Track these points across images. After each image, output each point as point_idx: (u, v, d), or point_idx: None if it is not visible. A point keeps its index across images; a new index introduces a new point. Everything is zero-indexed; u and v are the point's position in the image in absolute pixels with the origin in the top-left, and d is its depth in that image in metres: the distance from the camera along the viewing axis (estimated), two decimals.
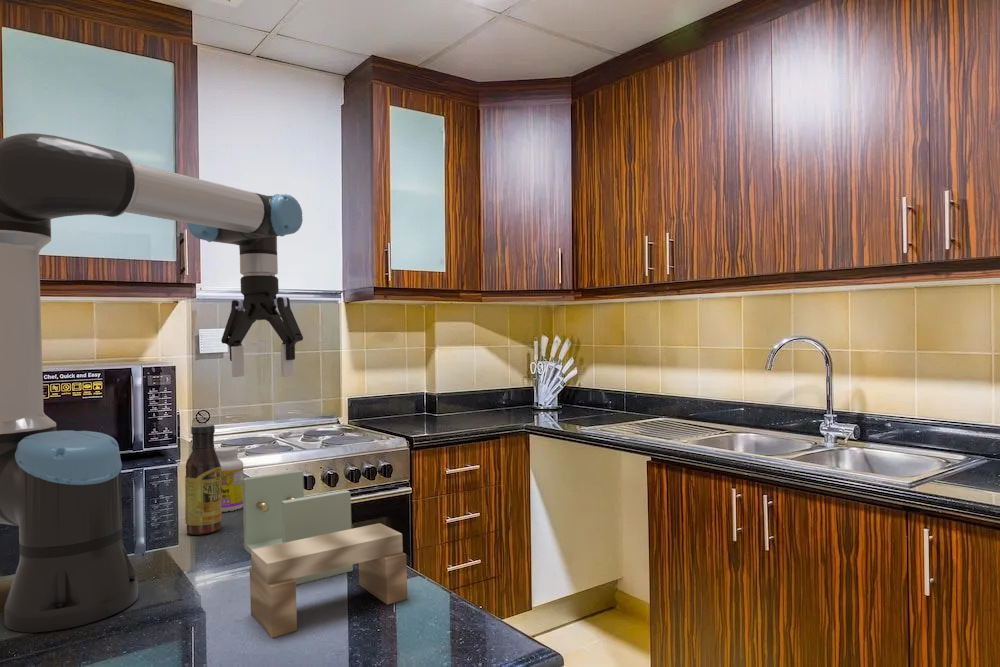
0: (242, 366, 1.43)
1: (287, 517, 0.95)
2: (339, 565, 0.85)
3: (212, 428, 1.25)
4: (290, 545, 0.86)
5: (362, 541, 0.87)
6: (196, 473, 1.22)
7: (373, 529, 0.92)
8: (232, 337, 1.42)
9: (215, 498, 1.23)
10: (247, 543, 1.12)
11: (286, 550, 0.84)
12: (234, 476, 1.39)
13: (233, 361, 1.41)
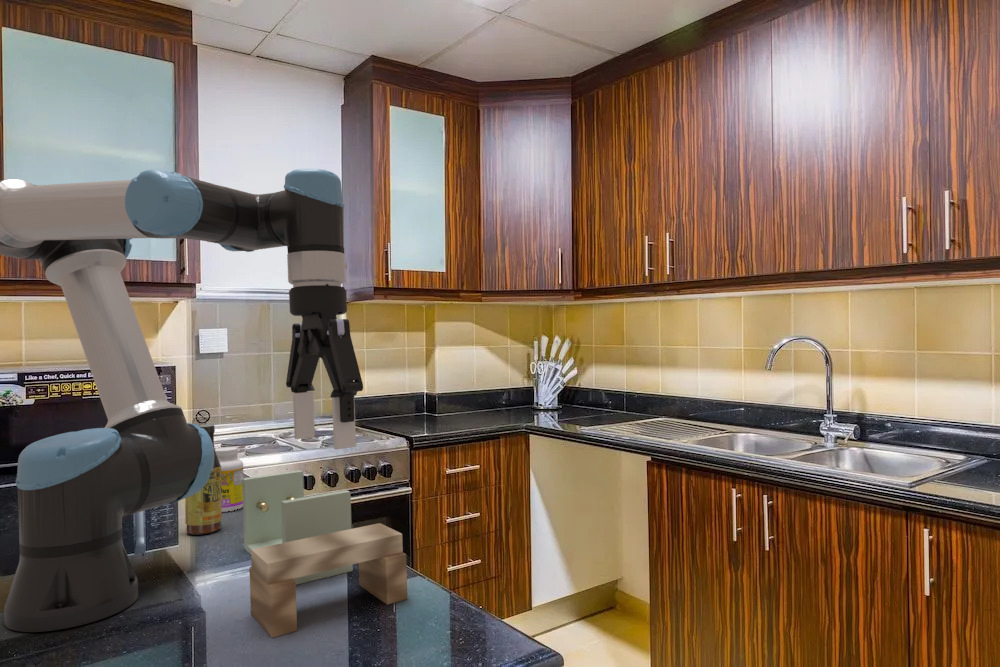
0: (311, 422, 0.95)
1: (287, 517, 0.95)
2: (339, 565, 0.85)
3: (212, 428, 1.25)
4: (290, 545, 0.86)
5: (362, 541, 0.87)
6: None
7: (373, 529, 0.92)
8: (293, 380, 0.95)
9: (215, 498, 1.23)
10: (247, 543, 1.12)
11: (286, 550, 0.84)
12: (234, 476, 1.39)
13: (295, 415, 0.94)
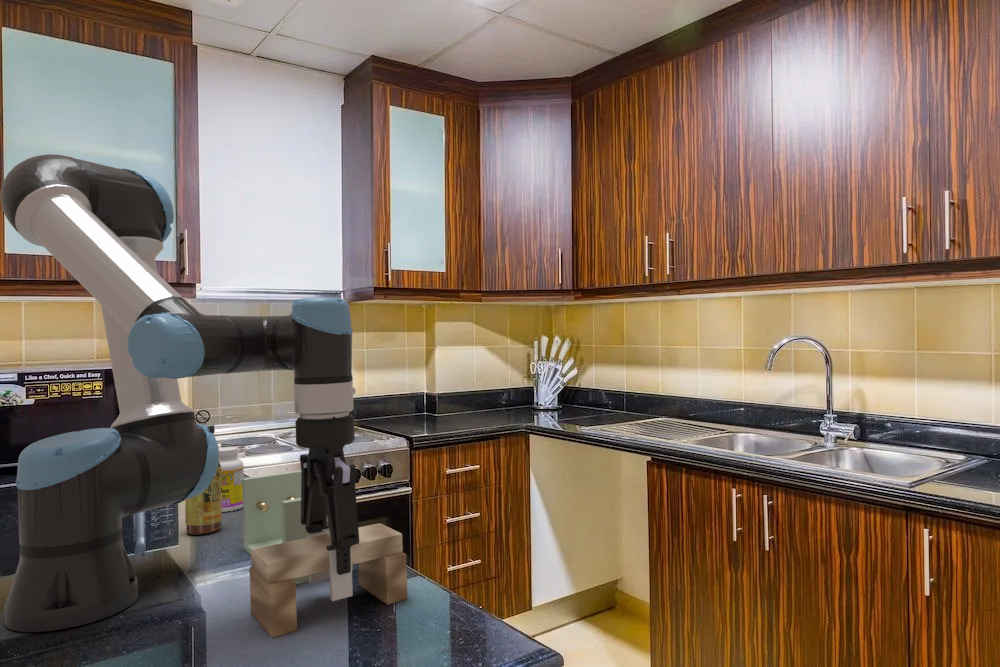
0: None
1: (287, 517, 0.95)
2: None
3: (212, 428, 1.25)
4: (290, 545, 0.86)
5: (362, 541, 0.87)
6: None
7: (373, 529, 0.92)
8: (307, 518, 0.90)
9: (215, 498, 1.23)
10: (247, 543, 1.12)
11: (286, 550, 0.84)
12: (234, 476, 1.39)
13: None
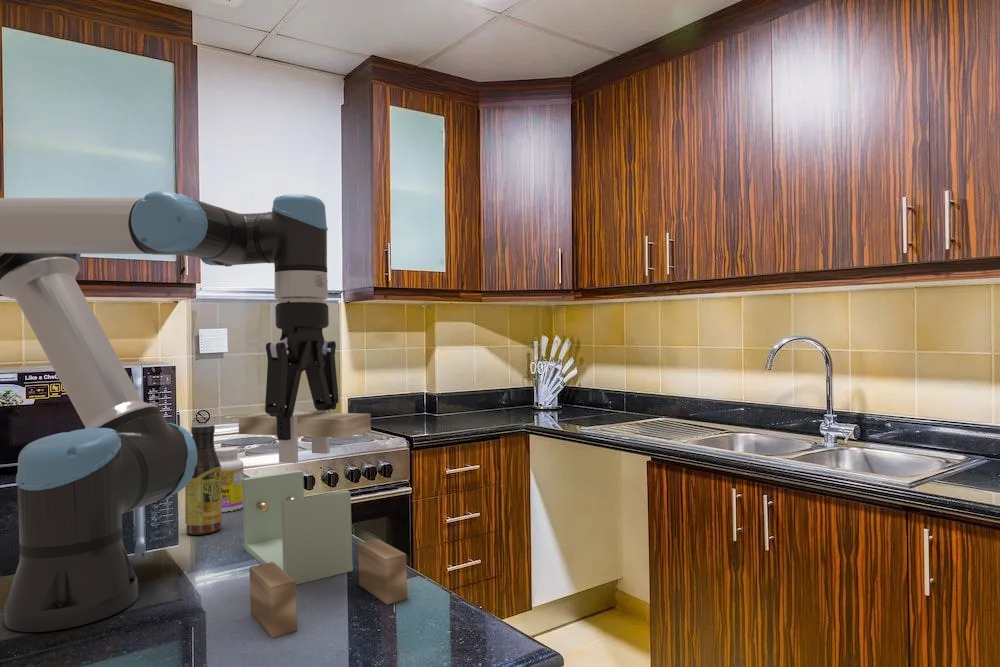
0: (324, 439, 1.01)
1: (287, 517, 0.95)
2: None
3: (212, 428, 1.25)
4: None
5: (312, 418, 0.94)
6: (196, 473, 1.22)
7: (349, 415, 0.96)
8: None
9: (216, 498, 1.23)
10: (247, 543, 1.12)
11: None
12: (234, 476, 1.39)
13: None
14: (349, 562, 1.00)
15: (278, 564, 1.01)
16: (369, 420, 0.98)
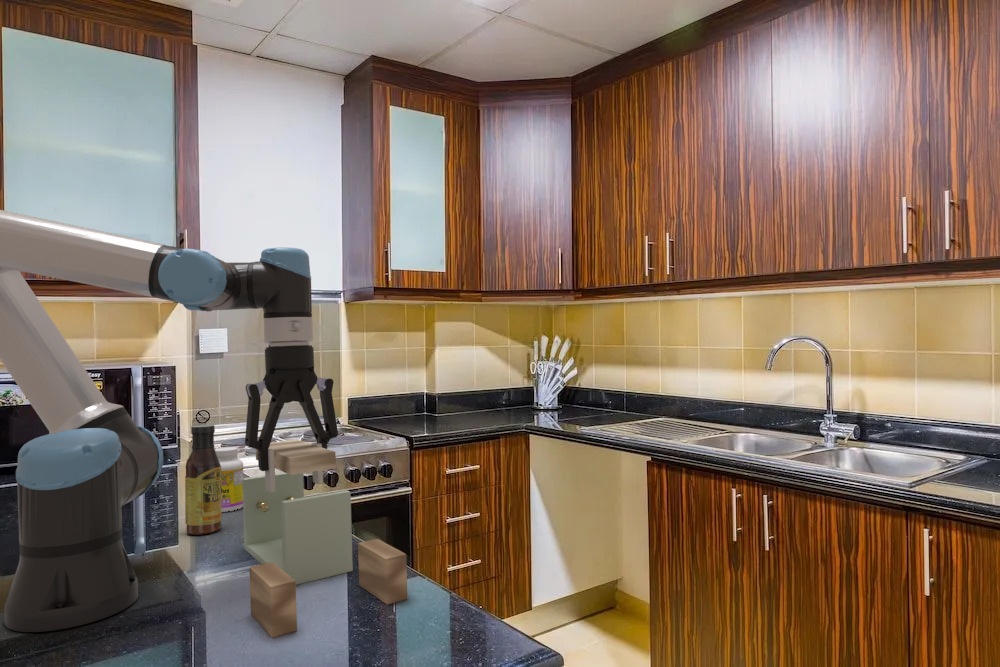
0: (317, 471, 1.08)
1: (287, 517, 0.95)
2: None
3: (212, 428, 1.25)
4: (295, 443, 1.12)
5: (281, 453, 1.02)
6: (196, 473, 1.22)
7: (315, 452, 1.02)
8: None
9: (215, 498, 1.23)
10: (247, 543, 1.12)
11: (282, 444, 1.11)
12: (234, 476, 1.39)
13: None
14: (349, 562, 1.00)
15: (278, 564, 1.01)
16: (333, 458, 1.01)
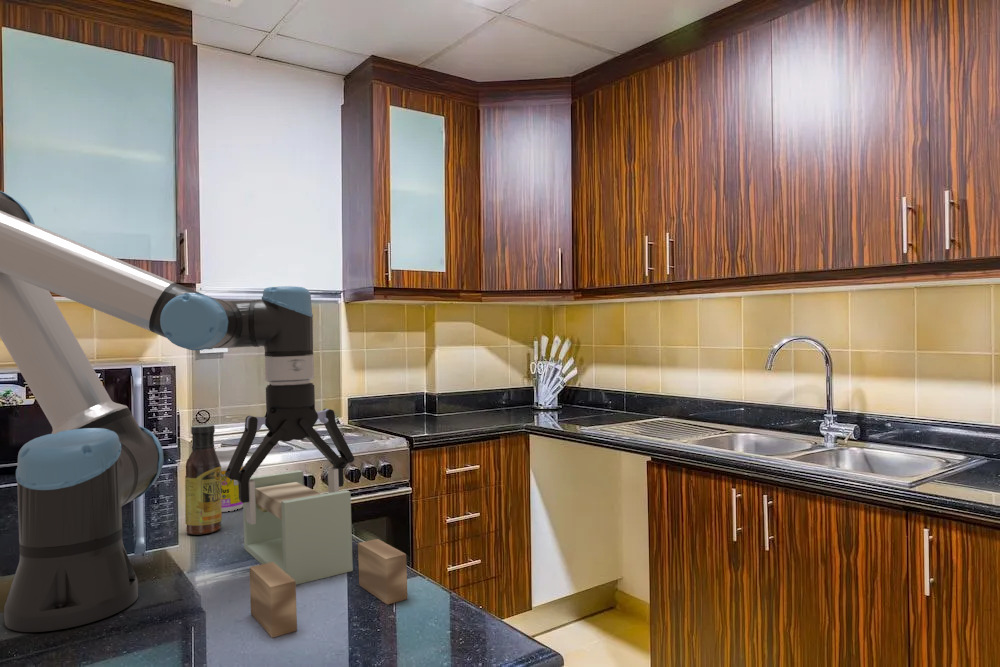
0: None
1: (287, 517, 0.95)
2: (271, 511, 1.05)
3: (212, 428, 1.25)
4: (294, 487, 1.11)
5: None
6: (196, 473, 1.22)
7: None
8: None
9: (215, 498, 1.23)
10: (247, 543, 1.12)
11: (282, 488, 1.11)
12: None
13: None
14: (349, 562, 1.00)
15: (278, 564, 1.01)
16: None
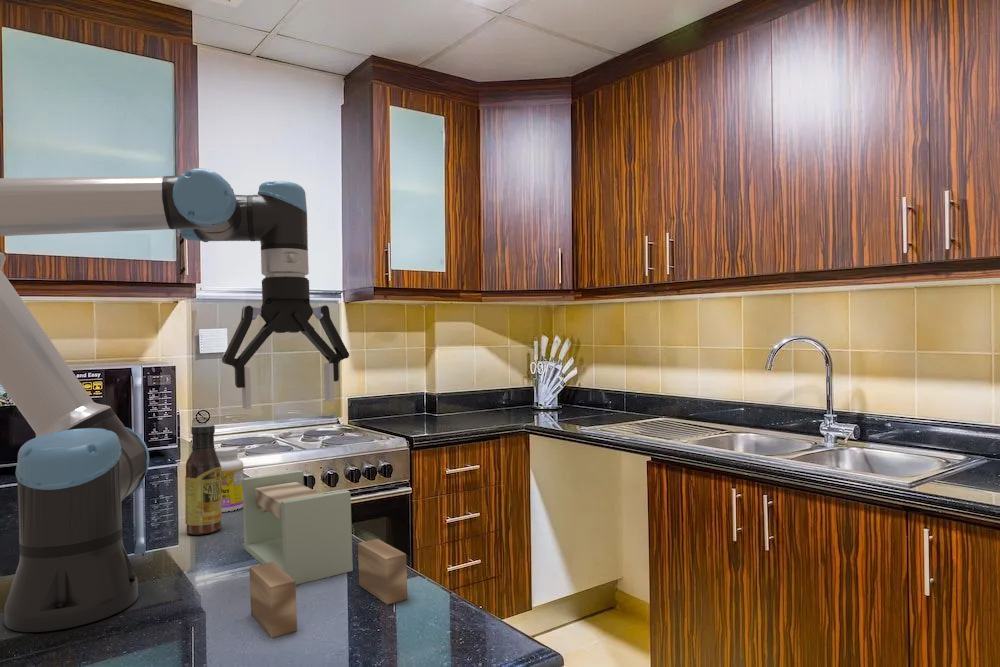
0: (328, 389, 1.13)
1: (287, 517, 0.95)
2: (271, 511, 1.05)
3: (212, 428, 1.25)
4: (294, 487, 1.11)
5: None
6: (196, 473, 1.22)
7: None
8: None
9: (216, 498, 1.23)
10: (247, 543, 1.12)
11: (282, 488, 1.11)
12: (234, 476, 1.39)
13: None
14: (349, 562, 1.00)
15: (278, 564, 1.01)
16: None
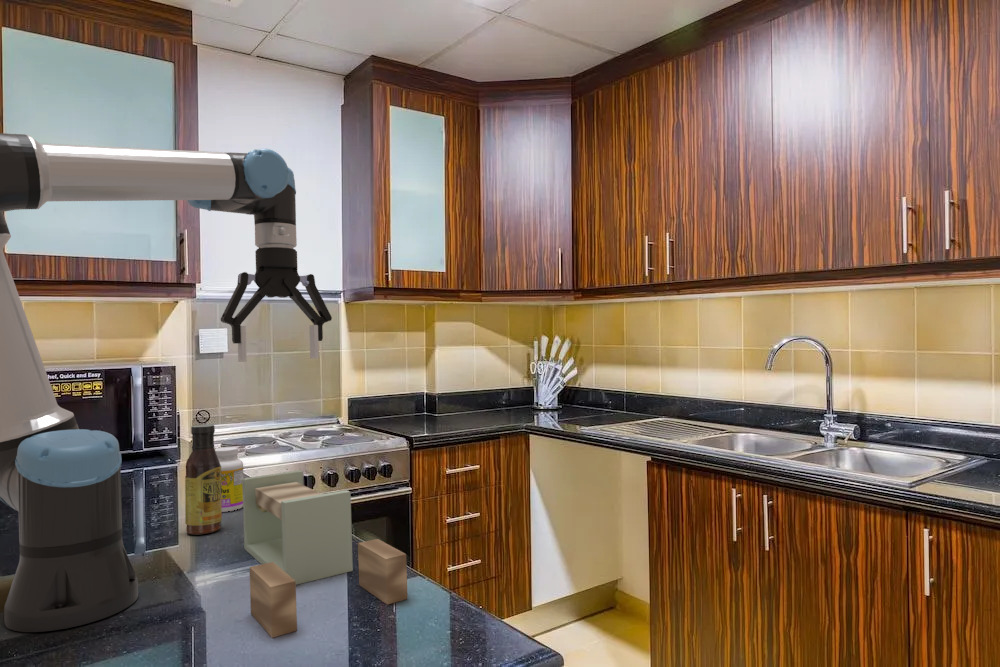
0: (313, 347, 1.29)
1: (287, 517, 0.95)
2: (271, 511, 1.05)
3: (212, 428, 1.25)
4: (294, 487, 1.11)
5: None
6: (196, 473, 1.22)
7: None
8: None
9: (215, 498, 1.23)
10: (247, 543, 1.12)
11: (282, 488, 1.11)
12: (234, 476, 1.39)
13: None
14: (349, 562, 1.00)
15: (278, 564, 1.01)
16: None
